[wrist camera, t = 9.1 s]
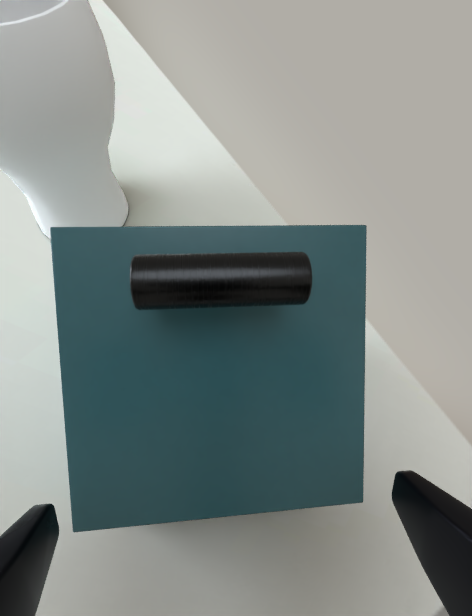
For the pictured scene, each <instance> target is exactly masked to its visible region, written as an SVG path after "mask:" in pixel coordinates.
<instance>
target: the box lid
mask: <svg viewBox="0 0 472 616" xmlns="http://www.w3.org/2000/svg"><path fill="white" fill-rule="evenodd" d="M50 235H51V248H52V261H53V274H54V287H55V301H56V314H57V327H58V340H59V353H60V366H61V380H62V393H63V406H64V419H65V432H66V445H67V459H68V472H69V485H70V498H71V511H72V524H73V532H81V531H91V530H101V529H110V528H120V527H130V526H139V525H149V524H159V523H168V522H178V521H188V520H197V519H207V518H217V517H226V516H236V515H246V514H255V513H265V512H275V511H284V510H294V509H304V508H314V507H323V506H333V505H343V504H352V503H362V502H363V467H364V385H365V301H366V225H302V226H301V225H299V226H297V225H296V226H141V227H51V228H50Z"/></svg>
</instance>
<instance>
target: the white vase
mask: <svg viewBox="0 0 472 616" xmlns="http://www.w3.org/2000/svg"><path fill="white" fill-rule="evenodd" d="M114 104H115V81H114V77H113V73H112V68H111V64H110V60H109V56H108V52H107V47H106V44H105V40H104V37H103V34H102V31H101V29H100V27H99V25H98V22H97V20H96V18H95V15H94V13H93V11H92V8H91V6H90V4H89V2H88V0H0V171H2V172H3V173H5V174H7V175H8V176H9V177H10V179H11V180H12V181H13V182H14V183H15V184H16V185H17V186H18V187H19V189H20V190H21V191H22V192H23V193H24V194H25V196H26V198H27V200H28V203H29V205H30V208H31V210H32V213H33V215H34V217H35V219H36V221H37V223H38V225H39V227H40V229H41V230H42V232H43V233H44V234H45V235H46V236H47V237H48V238H49V239H51V235H50V228H51V227H122V225H123V224H124V223H125V220H126V218H127V216H128V209H129V207H128V203H127V199H126V197H125V195H124V193H123V191H122V188H121V187H120V185H119V183H118V181H117V179H116V177H115V176H114V174H113V172H112V170H111V165H110V159H109V152H108V144H109V140H110V136H111V132H112V127H113V122H114Z"/></svg>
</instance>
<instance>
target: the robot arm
mask: <svg viewBox="0 0 472 616" xmlns="http://www.w3.org/2000/svg"><path fill="white" fill-rule="evenodd" d="M392 501H393V504H394V506H395V508H396V510H397V513H398V515H399V517H400V519H401V521H402V524H403V526H404V528H405V530H406V532H407V535H408V537H409V539H410V541H411V543H412V546H413V548H414V550H415V552H416V554H417V556H418V559H419V561H420V563H421V565H422V567H423V569H424V571H425V572H426V574H427V576H428V578H429V580H430V582H431V583H432V585H433V587H434V589H435V591H436V592H437V594H438V596H439V598H440V600H441V601H442V603H443V605H444V607H445V608H446V610H447V612H448V614H449V616H472V509H471V508H470V507H468V506H466V505H465V504H463V503H462V502H460V501H459V500H457V499H456V498H454V497H452V496H451V495H449V494H448V493H446V492H445V491H443V490H442V489H440V488H438V487H437V486H435V485H434V484H432V483H431V482H429V481H428V480H426V479H425V478H423V477H421V476H420V475H418V474H417V473H415V472H413V471H399V472H397V473H396V475H395V479H394V485H393V490H392ZM58 535H59V526H58V521H57V517H56V513H55V508H54V506H53V505H52V504H41V505H35V506H33V507H32V508H31V509H29V510H28V511H27V512H26V513H25V514H24V515H23V516H22V517H21V518H20V519H18V520H17V521H16V522H15V523H14V524H13V525H12V526H11V527H10V528H9V529H8V530H6V531H5V532H4V533H3V534H2V535H1V536H0V616H35V614H36V611H37V608H38V604H39V601H40V598H41V594H42V591H43V588H44V584H45V581H46V577H47V574H48V571H49V567H50V564H51V560H52V557H53V554H54V550H55V547H56V543H57V540H58Z"/></svg>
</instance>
